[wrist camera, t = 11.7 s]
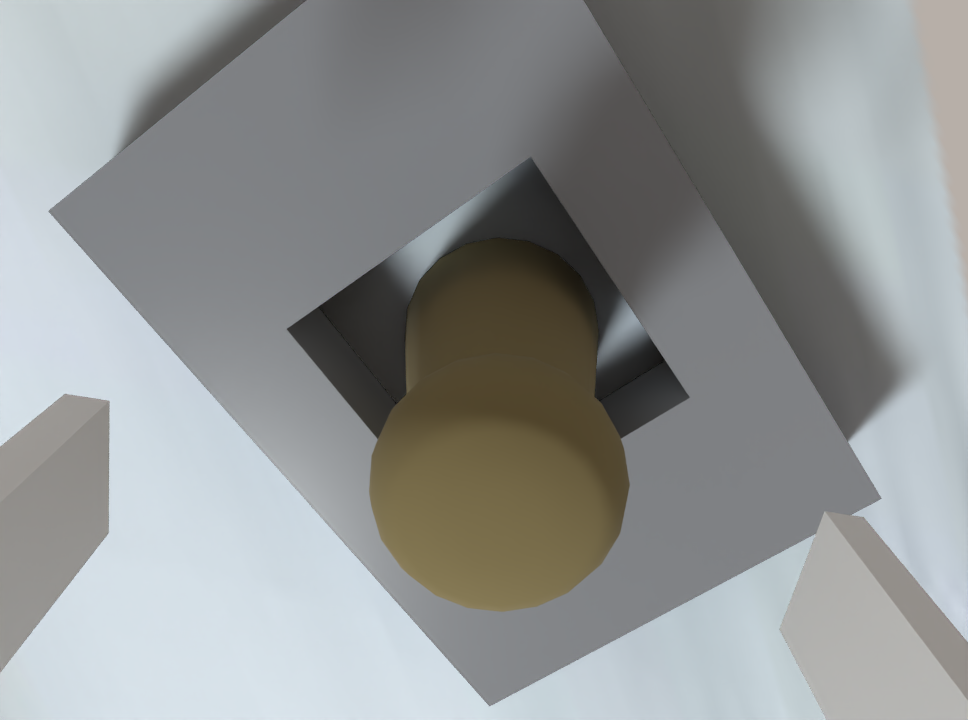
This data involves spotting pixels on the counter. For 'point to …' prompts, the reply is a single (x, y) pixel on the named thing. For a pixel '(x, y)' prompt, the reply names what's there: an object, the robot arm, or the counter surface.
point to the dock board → (410, 212)
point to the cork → (499, 433)
